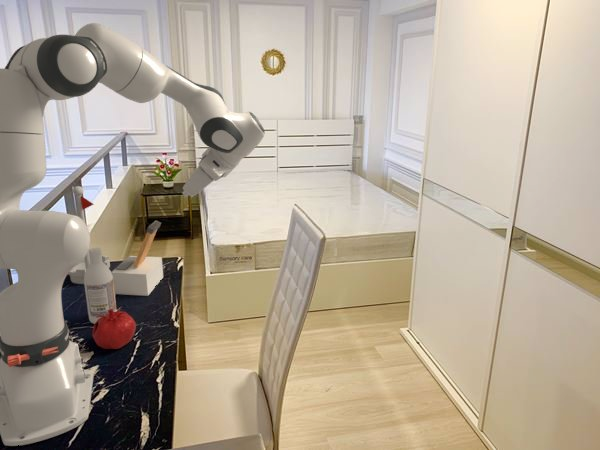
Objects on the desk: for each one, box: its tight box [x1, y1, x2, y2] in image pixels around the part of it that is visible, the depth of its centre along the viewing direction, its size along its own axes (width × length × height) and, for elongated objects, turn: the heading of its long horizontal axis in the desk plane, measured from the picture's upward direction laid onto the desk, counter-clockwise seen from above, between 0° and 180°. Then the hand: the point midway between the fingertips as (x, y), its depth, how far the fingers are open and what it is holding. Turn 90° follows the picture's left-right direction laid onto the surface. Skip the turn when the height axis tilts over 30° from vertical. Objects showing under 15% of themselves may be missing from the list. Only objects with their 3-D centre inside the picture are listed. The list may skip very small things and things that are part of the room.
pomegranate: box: [91, 308, 137, 350], centre depth 111 cm, size 10×10×9 cm
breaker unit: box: [111, 255, 164, 297], centre depth 141 cm, size 10×13×8 cm
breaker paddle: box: [133, 220, 162, 268], centre depth 137 cm, size 2×6×14 cm, turn 177°
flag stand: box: [67, 185, 111, 285], centre depth 142 cm, size 13×13×30 cm
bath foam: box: [83, 247, 118, 324], centre depth 119 cm, size 7×7×20 cm
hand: (185, 194), depth 129 cm, fingers closed
